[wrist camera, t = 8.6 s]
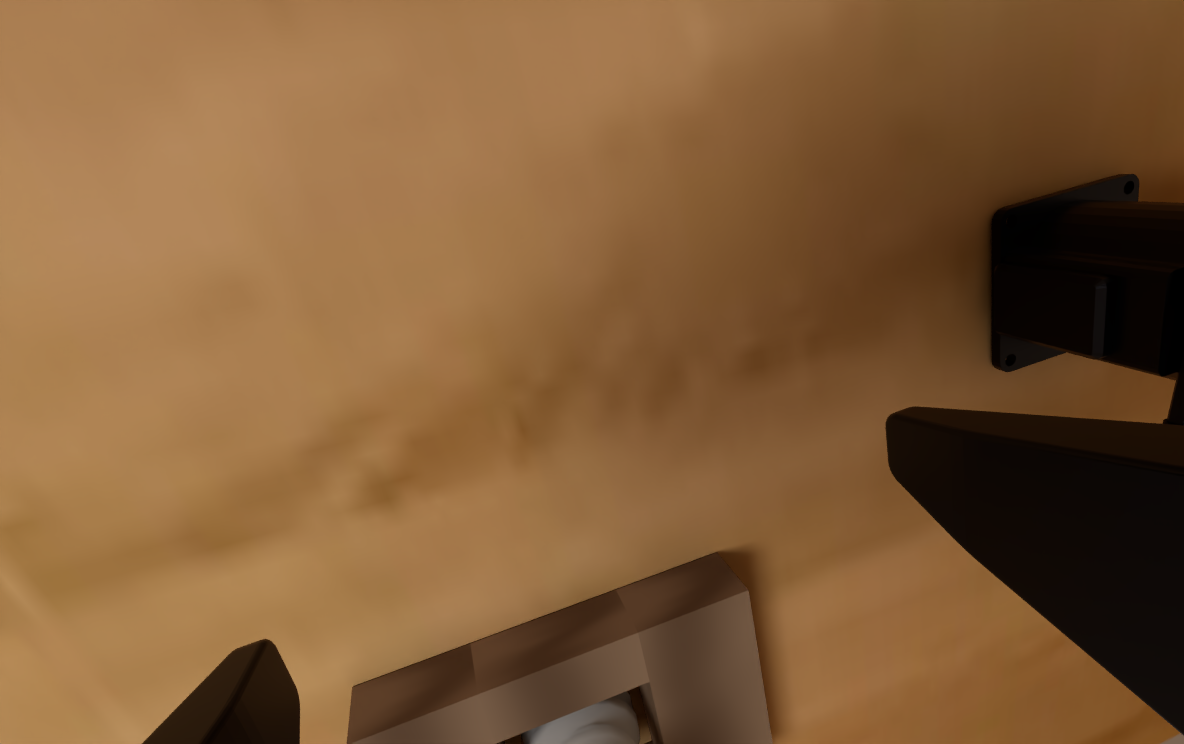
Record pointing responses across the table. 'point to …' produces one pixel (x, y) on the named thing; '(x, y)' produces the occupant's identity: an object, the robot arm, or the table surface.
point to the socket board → (590, 669)
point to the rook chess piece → (591, 725)
